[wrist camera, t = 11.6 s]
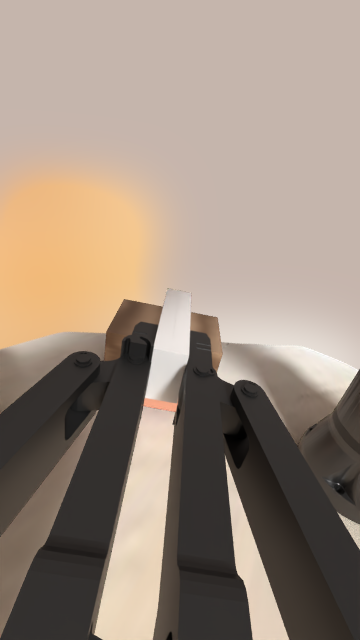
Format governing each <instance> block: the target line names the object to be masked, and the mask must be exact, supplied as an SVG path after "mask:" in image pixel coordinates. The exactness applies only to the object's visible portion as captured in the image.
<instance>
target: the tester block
mask: <svg viewBox="0 0 360 640" xmlns="http://www.w3.org/2000/svg"><path fill="white" fill-rule="evenodd" d="M162 309H163V307H161V306H156V305H151V304H146V303H141V302H136V301H131V300H125V299H124V300H123V302H122V304H121V306H120V308H119V310H118V311H117V313H116V315H115V317H114V319H113V321H112V322H111V324H110V326H109V328H108V330H107V332H106V344H105V356H104V361H111V360H115V359H118V358H120V354H121V345H122V340H123V338H124V337H126V336H128V335H132V332H133V330H134V327H135V325H136V324H138V323H139V322H147V323H152V324H157V325H159V322H160V317H161V313H162ZM190 330H192V331H197V332H202V333H206V334H207V335H208V337H209V338H210V340H211V352H212V365H213V368H214V369H215V370H216V373H217V370H218V367H219V363H220V360H221V357H222V354H223V353H222V346H221V339H220V332H219V324H218V318H217V317H213V316H208V315H202V314H197V313H192V312H191V319H190Z"/></svg>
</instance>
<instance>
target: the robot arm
mask: <svg viewBox="0 0 360 640" xmlns="http://www.w3.org/2000/svg"><path fill="white" fill-rule="evenodd" d="M191 294H192V293H189V292H184V291H179V290H174V289H169V288H168V289H167V292H166V296H165V301H164V305H163V309H162V313H161V317H160V322H159V325H157V324H152V323H147V322H139V323H138V324H136V325H135V327H134V330H133V332H132V335H128V336H126V337H124V338H123V340H122V345H121V354H120V358H118V359H115V360H111V361H100V358H99V357H98V356H97V355H96V354H94V353H92V352H87V351H80V352H76V353H73V354H71V355H69V356H68V357H67V358H66V359H64V360H63V361H62V362H61V363H60V364H59V365H57V366H56V367H55V368H54V369H53V370H51V371H50V372H49V373H48V374H47V375H46V376H44V377H43V378H42V379H41V380H40V381H38V382H37V383H36V384H35V385H34V386H33V387H31V388H30V389H29V390H28V391H27V392H26V393H24V394H23V395H22V396H21V397H20V398H18V399H17V400H16V401H15V402H14V403H13V404H11V405H10V406H9V407H8V408H7V409H5V410H4V411H3V412H2V413H1V414H0V537H1V535H2V534H3V533H4V532H5V530H6V529H7V528H8V526H9V525H10V524H11V522H12V521H13V520H14V519H15V517H16V516H17V515H18V513H19V512H20V511H21V509H22V508H23V507H24V506H25V504H26V503H27V502H28V500H29V499H30V498H31V496H32V495H33V494H34V493H35V491H36V490H37V489H38V487H39V486H40V485H41V483H42V482H43V481H44V480H45V478H46V477H47V476H48V474H49V473H50V472H51V470H52V469H53V468H54V467H55V465H56V464H57V463H58V461H59V460H60V459H61V457H62V456H63V455H64V453H65V452H66V451H67V450H68V448H69V447H70V446H71V444H72V443H73V442H74V440H75V439H76V438H77V437H78V435H79V434H80V433H81V431H82V430H83V429H84V427H85V426H86V425H87V424H88V422H89V421H90V420H91V418H92V417H93V416H94V414H95V413H96V411H97V410H99V411H98V414H97V416H96V419H95V421H94V424H93V426H92V429H91V431H90V434H89V436H88V439H87V441H86V444H85V446H84V449H83V451H82V454H81V456H80V459H79V461H78V464H77V467H76V469H75V472H74V474H73V477H72V479H71V482H70V484H69V487H68V489H67V492H66V494H65V497H64V499H63V502H62V504H61V507H60V509H59V512H58V514H57V517H56V519H55V522H54V524H53V527H52V529H51V532H50V534H49V537H48V539H47V541H46V543H45V545H44V546H43V547H41V548H40V549H39V550H38V552H37V554H36V555H35V557H34V559H33V561H32V564H31V566H30V568H29V570H28V573H27V575H26V577H25V580H24V582H23V585H22V587H21V589H20V592H19V594H18V597H17V599H16V602H15V604H14V606H13V609H12V611H11V614H10V616H9V618H8V621H7V623H6V626H5V628H4V631H3V633H2V635H1V638H0V640H102V639H100V638H99V637H97V636H95V635H94V633H95V628H96V623H97V618H98V613H99V608H100V603H101V598H102V593H103V589H104V584H105V580H106V575H107V570H108V566H109V561H110V557H111V552H112V547H113V543H114V538H115V534H116V529H117V525H118V520H119V515H120V511H121V506H122V502H123V497H124V492H125V488H126V483H127V479H128V474H129V470H130V465H131V460H132V456H133V451H134V447H135V442H136V437H137V433H138V428H139V424H140V419H141V415H142V410H143V405H144V399H145V398H148V399H154V400H159V401H165V402H170V403H176V404H177V401H178V405H177V409H176V413H175V416H174V420H173V425H174V435H173V446H172V458H171V469H170V480H169V491H168V503H167V514H166V525H165V536H164V548H163V559H162V570H161V581H160V593H159V603H158V611H157V618H156V623H155V629H154V636H153V640H253V639H252V630H251V622H250V613H249V605H248V598H247V592H246V588H245V585H244V582H243V580H242V579H241V578H240V577H239V575H238V574H237V571H236V566H235V557H234V547H233V536H232V526H231V515H230V505H229V494H228V484H227V473H226V463H225V456H226V459H227V462H228V465H229V467H230V470H231V473H232V476H233V479H234V482H235V485H236V488H237V490H238V493H239V496H240V499H241V502H242V505H243V508H244V511H245V513H246V516H247V519H248V522H249V525H250V528H251V531H252V534H253V536H254V539H255V542H256V545H257V548H258V551H259V554H260V557H261V559H262V562H263V565H264V568H265V571H266V574H267V577H268V580H269V582H270V585H271V588H272V591H273V594H274V597H275V600H276V603H277V605H278V608H279V611H280V614H281V617H282V620H283V623H284V626H285V628H286V631H287V634H288V637H289V640H360V550H359V548H358V547H357V545H356V543H355V542H354V540H353V538H352V537H351V535H350V533H349V532H348V530H347V528H346V527H345V525H344V523H343V522H342V520H341V518H340V517H339V515H338V513H337V512H339V513H340V514H342V515H343V516H345V517H346V518H348V519H350V520H352V521H354V522H356V523H358V524H360V370H359V371H358V373H357V374H356V376H355V378H354V379H353V381H352V382H351V384H350V386H349V387H348V389H347V390H346V392H345V394H344V395H343V397H342V398H341V400H340V401H339V403H338V405H337V406H336V408H335V409H334V411H333V412H332V413H331V414H330V415H328V416H327V417H325V418H324V419H322V420H321V421H320V422H319V423H318V424H315V425H313V426H311V427H310V428H309V429H308V430H307V431H306V432H305V433H304V435H303V437H302V438H301V440H300V442H299V444H298V447H297V445H296V443H295V442H294V440H293V438H292V437H291V435H290V433H289V432H288V430H287V428H286V427H285V425H284V423H283V422H282V420H281V418H280V417H279V415H278V413H277V412H276V410H275V408H274V407H273V405H272V403H271V402H270V400H269V398H268V397H267V395H266V393H265V392H264V390H263V389H262V388H261V387H260V386H259V385H257V384H256V383H253V382H251V381H247V380H240V381H237V382H236V383H235V385H232V384H230V383H227V382H225V381H223V380H221V379H220V378H219V377H218V376H217V373H216V370H215V369H214V368H213V365H212V352H211V340H210V338H209V337H208V335H207V334H206V333H202V332H197V331H192V330H190V319H191ZM336 511H337V512H336Z"/></svg>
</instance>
